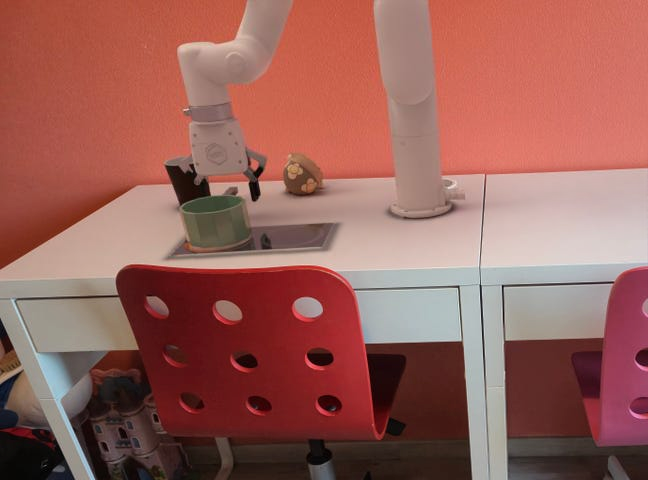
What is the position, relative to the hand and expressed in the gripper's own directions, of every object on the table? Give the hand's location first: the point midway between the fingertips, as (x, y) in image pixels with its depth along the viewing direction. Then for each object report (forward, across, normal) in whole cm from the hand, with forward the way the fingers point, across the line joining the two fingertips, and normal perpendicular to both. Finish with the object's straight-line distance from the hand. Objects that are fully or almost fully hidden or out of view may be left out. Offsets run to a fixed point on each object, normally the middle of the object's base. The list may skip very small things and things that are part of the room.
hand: (232, 201), depth 143 cm
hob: (+4, +7, -12) cm, 15 cm away
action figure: (+4, +11, +20) cm, 24 cm away
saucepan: (+4, 0, -8) cm, 9 cm away
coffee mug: (+4, -12, +14) cm, 19 cm away
